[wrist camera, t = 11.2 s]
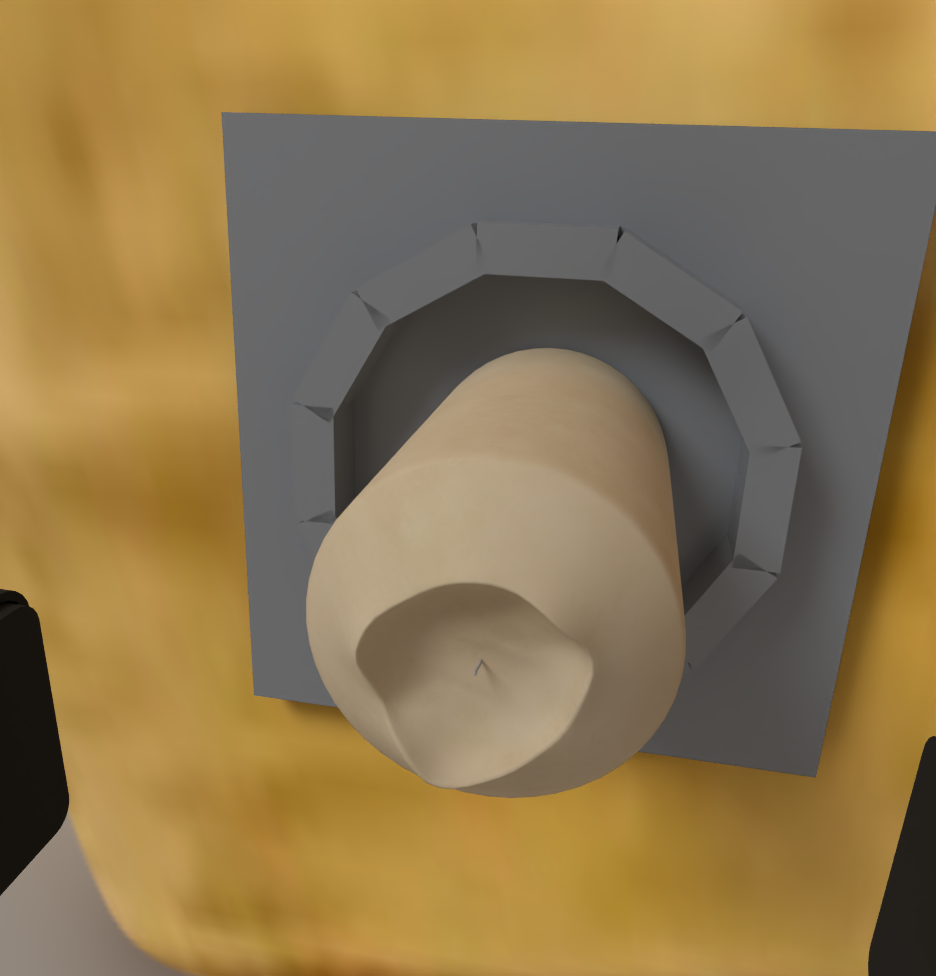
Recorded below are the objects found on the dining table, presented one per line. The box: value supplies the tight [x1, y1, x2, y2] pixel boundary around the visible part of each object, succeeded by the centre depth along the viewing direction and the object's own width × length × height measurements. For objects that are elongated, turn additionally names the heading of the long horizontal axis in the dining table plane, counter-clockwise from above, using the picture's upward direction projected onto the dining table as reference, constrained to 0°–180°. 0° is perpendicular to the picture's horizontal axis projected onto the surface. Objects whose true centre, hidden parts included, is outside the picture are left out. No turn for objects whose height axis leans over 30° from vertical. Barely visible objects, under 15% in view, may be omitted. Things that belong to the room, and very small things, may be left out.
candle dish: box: [222, 112, 936, 777], centre depth 20 cm, size 15×15×2 cm
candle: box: [306, 348, 686, 798], centre depth 16 cm, size 6×6×10 cm
